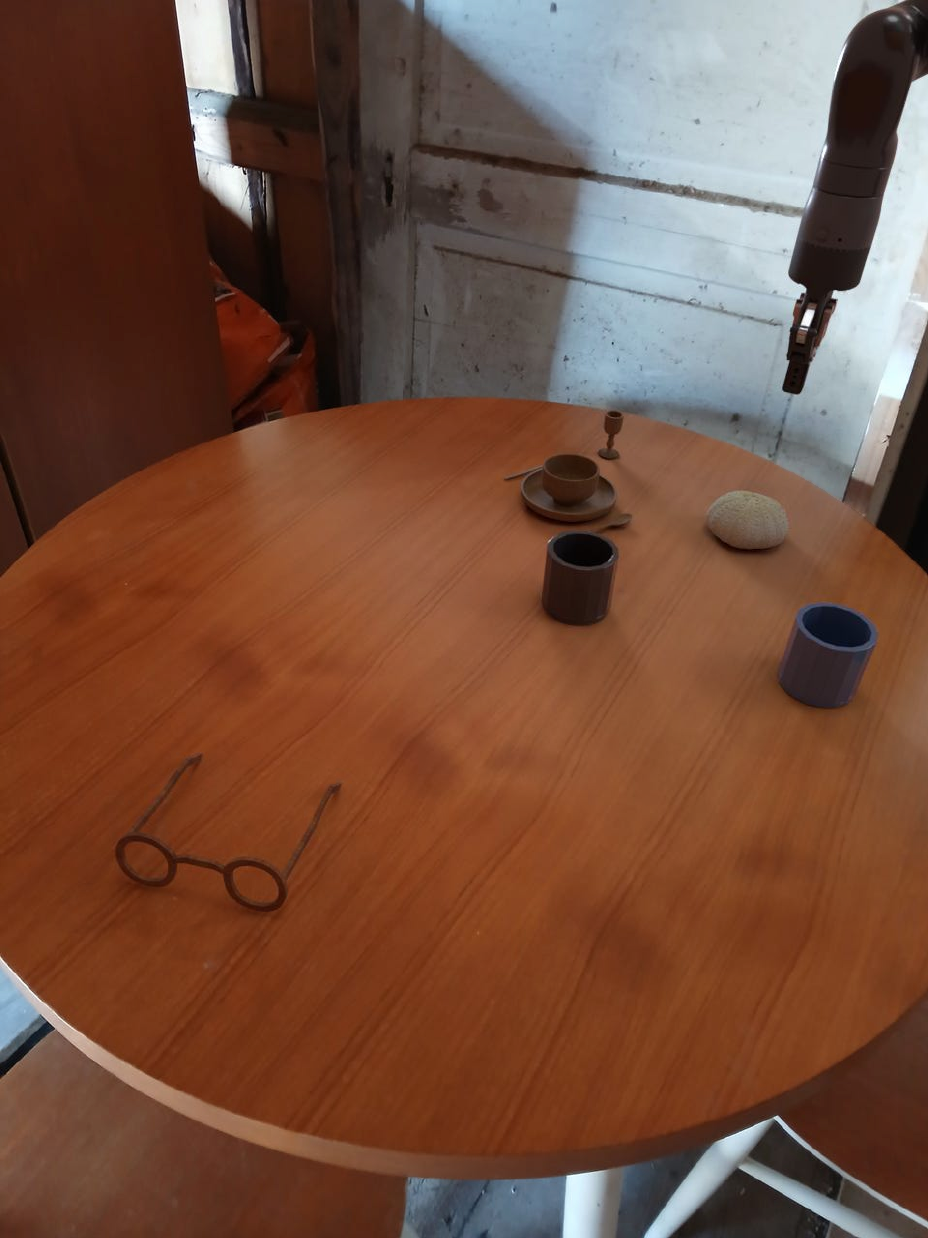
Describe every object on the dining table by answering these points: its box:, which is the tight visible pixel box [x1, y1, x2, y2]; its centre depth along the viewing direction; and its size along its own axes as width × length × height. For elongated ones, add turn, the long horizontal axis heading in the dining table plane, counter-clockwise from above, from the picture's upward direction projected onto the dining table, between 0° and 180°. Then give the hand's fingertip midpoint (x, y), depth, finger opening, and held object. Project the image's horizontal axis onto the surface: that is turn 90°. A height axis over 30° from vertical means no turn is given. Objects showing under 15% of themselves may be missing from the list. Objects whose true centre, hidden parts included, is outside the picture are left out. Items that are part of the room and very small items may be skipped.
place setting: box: [503, 409, 633, 533], centre depth 113 cm, size 18×20×6 cm
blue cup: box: [777, 601, 879, 709], centre depth 85 cm, size 7×7×7 cm
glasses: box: [114, 752, 343, 913], centre depth 69 cm, size 13×13×5 cm
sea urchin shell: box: [705, 490, 789, 550], centre depth 107 cm, size 9×8×8 cm
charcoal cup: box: [541, 529, 620, 626], centre depth 94 cm, size 7×7×7 cm
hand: (791, 390), depth 105 cm, fingers closed
